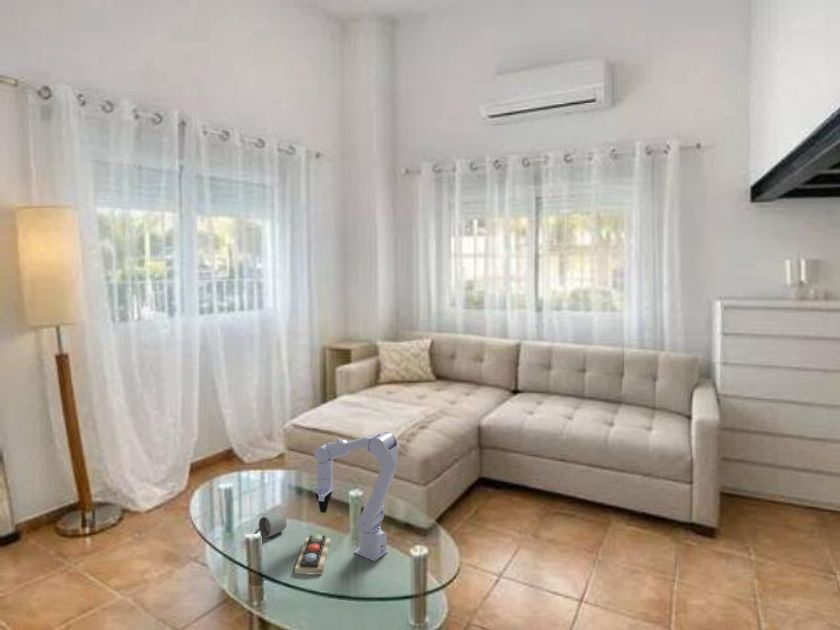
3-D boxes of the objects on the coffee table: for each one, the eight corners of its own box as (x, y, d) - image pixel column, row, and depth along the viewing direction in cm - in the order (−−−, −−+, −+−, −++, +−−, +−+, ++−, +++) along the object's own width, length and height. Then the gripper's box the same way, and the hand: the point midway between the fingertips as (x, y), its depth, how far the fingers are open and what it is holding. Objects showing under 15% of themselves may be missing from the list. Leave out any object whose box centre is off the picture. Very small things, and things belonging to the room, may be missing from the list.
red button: (309, 548, 187) (309, 543, 187) (320, 548, 187) (320, 543, 187) (306, 554, 183) (307, 549, 183) (318, 554, 183) (318, 549, 183)
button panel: (305, 543, 195) (306, 534, 194) (330, 543, 195) (330, 534, 195) (294, 574, 175) (295, 564, 175) (322, 574, 175) (322, 564, 175)
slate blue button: (305, 558, 180) (305, 552, 180) (317, 558, 180) (317, 553, 180) (303, 564, 176) (303, 559, 176) (315, 565, 176) (315, 559, 176)
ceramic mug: (288, 532, 202) (288, 513, 202) (270, 540, 196) (270, 520, 195) (270, 524, 208) (270, 505, 208) (252, 531, 202) (253, 512, 201)
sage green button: (312, 539, 193) (312, 534, 193) (323, 539, 193) (323, 534, 193) (310, 544, 189) (310, 539, 189) (321, 545, 189) (321, 539, 189)
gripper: (316, 469, 204) (315, 503, 205) (310, 484, 190) (309, 520, 191) (335, 469, 204) (334, 503, 205) (330, 484, 190) (329, 520, 191)
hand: (323, 511), depth 198 cm, fingers closed
